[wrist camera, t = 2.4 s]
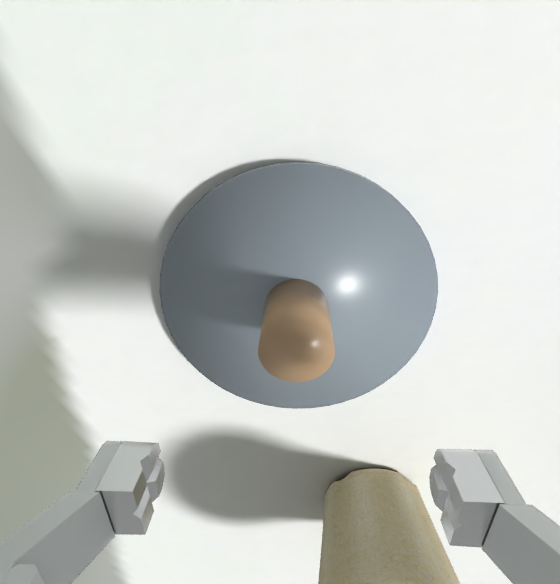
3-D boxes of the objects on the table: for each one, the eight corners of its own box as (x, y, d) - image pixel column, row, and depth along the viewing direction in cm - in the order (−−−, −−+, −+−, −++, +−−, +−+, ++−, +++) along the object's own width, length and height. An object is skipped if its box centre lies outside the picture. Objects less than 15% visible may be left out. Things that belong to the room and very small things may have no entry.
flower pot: (328, 546, 28) (340, 716, 20) (277, 469, 24) (267, 645, 16) (455, 520, 25) (523, 701, 18) (421, 432, 22) (490, 614, 14)
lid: (143, 162, 15) (90, 183, 11) (456, 158, 15) (514, 179, 11) (185, 393, 21) (160, 460, 18) (409, 397, 21) (435, 467, 17)
